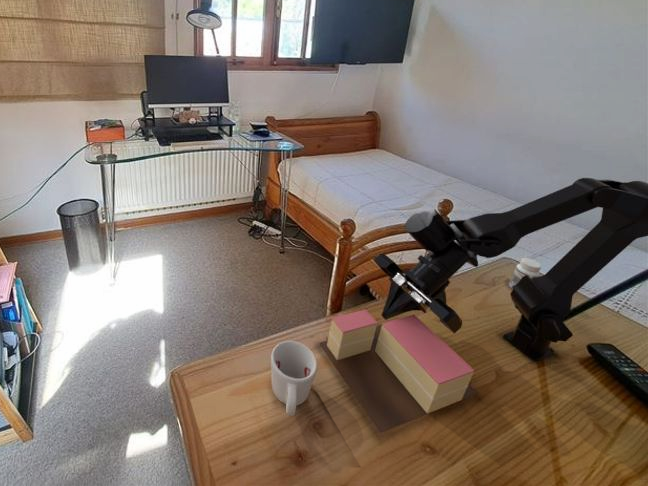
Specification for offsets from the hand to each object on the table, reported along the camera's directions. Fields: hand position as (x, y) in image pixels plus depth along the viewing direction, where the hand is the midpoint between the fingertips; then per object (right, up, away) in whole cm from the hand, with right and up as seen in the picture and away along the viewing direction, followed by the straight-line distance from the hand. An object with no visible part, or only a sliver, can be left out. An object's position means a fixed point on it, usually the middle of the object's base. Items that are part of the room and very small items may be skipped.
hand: (383, 317), depth 69 cm
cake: (+4, -9, -5) cm, 11 cm away
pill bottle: (+46, -1, +20) cm, 50 cm away
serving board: (0, -9, -3) cm, 9 cm away
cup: (-21, -11, -9) cm, 25 cm away
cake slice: (-7, -6, 0) cm, 10 cm away
